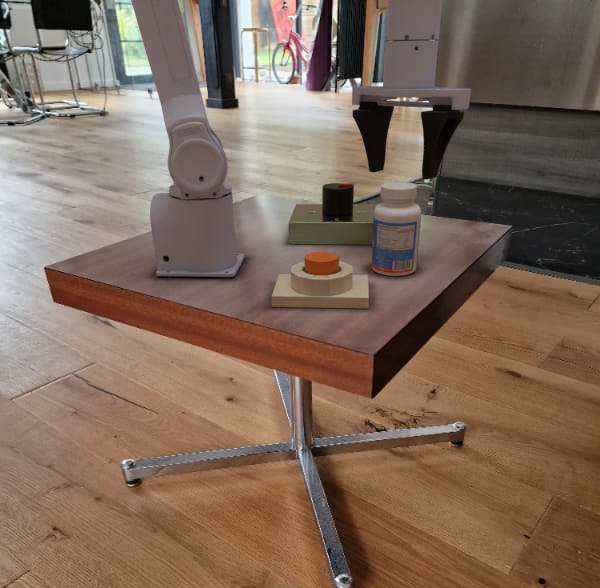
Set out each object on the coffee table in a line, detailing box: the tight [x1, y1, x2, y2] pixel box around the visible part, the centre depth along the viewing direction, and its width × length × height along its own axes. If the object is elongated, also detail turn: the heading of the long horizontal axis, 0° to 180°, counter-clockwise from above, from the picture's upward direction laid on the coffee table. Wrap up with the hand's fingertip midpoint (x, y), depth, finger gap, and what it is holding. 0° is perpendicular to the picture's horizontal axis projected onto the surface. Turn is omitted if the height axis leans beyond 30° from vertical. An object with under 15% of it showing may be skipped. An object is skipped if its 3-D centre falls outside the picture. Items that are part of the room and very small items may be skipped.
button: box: [304, 250, 340, 275], centre depth 60 cm, size 4×4×2 cm
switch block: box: [271, 260, 370, 309], centre depth 61 cm, size 10×7×3 cm
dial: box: [321, 182, 355, 216], centre depth 80 cm, size 4×4×4 cm
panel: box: [288, 203, 379, 246], centre depth 82 cm, size 13×11×3 cm
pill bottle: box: [371, 181, 422, 277], centre depth 66 cm, size 6×5×10 cm
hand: (402, 174), depth 68 cm, fingers open, 7 cm apart
